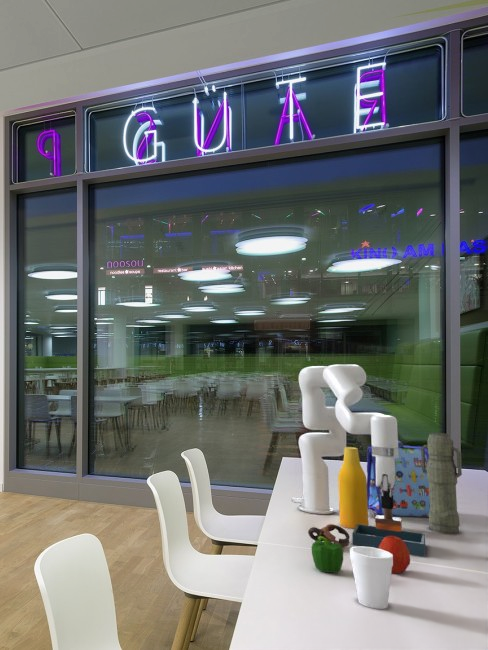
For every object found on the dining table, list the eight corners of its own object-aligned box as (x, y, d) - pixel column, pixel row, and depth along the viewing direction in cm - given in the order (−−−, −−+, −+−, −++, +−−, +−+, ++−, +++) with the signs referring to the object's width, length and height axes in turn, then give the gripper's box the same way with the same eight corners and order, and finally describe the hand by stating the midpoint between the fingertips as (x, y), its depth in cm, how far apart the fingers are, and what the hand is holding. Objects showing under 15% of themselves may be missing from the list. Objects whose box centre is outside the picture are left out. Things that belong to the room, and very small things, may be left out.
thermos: (463, 536, 211) (458, 436, 214) (422, 529, 220) (418, 433, 222) (466, 531, 218) (462, 434, 220) (427, 524, 226) (422, 431, 228)
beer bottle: (336, 522, 229) (333, 445, 231) (362, 523, 227) (359, 446, 229) (345, 529, 220) (342, 449, 222) (373, 530, 218) (369, 450, 220)
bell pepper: (338, 566, 181) (337, 533, 182) (348, 576, 173) (346, 541, 174) (307, 564, 183) (306, 531, 184) (316, 574, 175) (315, 539, 176)
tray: (352, 545, 202) (352, 532, 202) (357, 535, 213) (356, 523, 213) (424, 556, 190) (424, 544, 190) (425, 546, 201) (425, 533, 201)
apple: (417, 577, 173) (415, 539, 173) (385, 575, 174) (384, 538, 175) (402, 567, 181) (401, 531, 181) (372, 565, 182) (371, 529, 183)
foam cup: (353, 593, 161) (351, 544, 162) (394, 601, 156) (392, 550, 157) (350, 605, 153) (348, 553, 154) (394, 614, 148) (392, 560, 149)
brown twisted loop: (339, 544, 204) (348, 526, 201) (345, 564, 196) (355, 546, 193) (302, 532, 207) (310, 515, 203) (306, 552, 199) (316, 534, 195)
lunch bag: (421, 509, 248) (418, 439, 250) (440, 518, 234) (437, 444, 236) (364, 507, 252) (361, 438, 253) (379, 515, 238) (376, 442, 240)
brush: (375, 528, 201) (373, 490, 202) (376, 525, 205) (375, 488, 206) (401, 532, 196) (399, 493, 197) (402, 528, 201) (400, 490, 201)
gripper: (374, 448, 211) (376, 501, 210) (369, 454, 198) (372, 510, 197) (399, 450, 207) (402, 504, 205) (397, 456, 194) (399, 514, 192)
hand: (387, 507), depth 201 cm, fingers closed on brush, 2 cm apart
